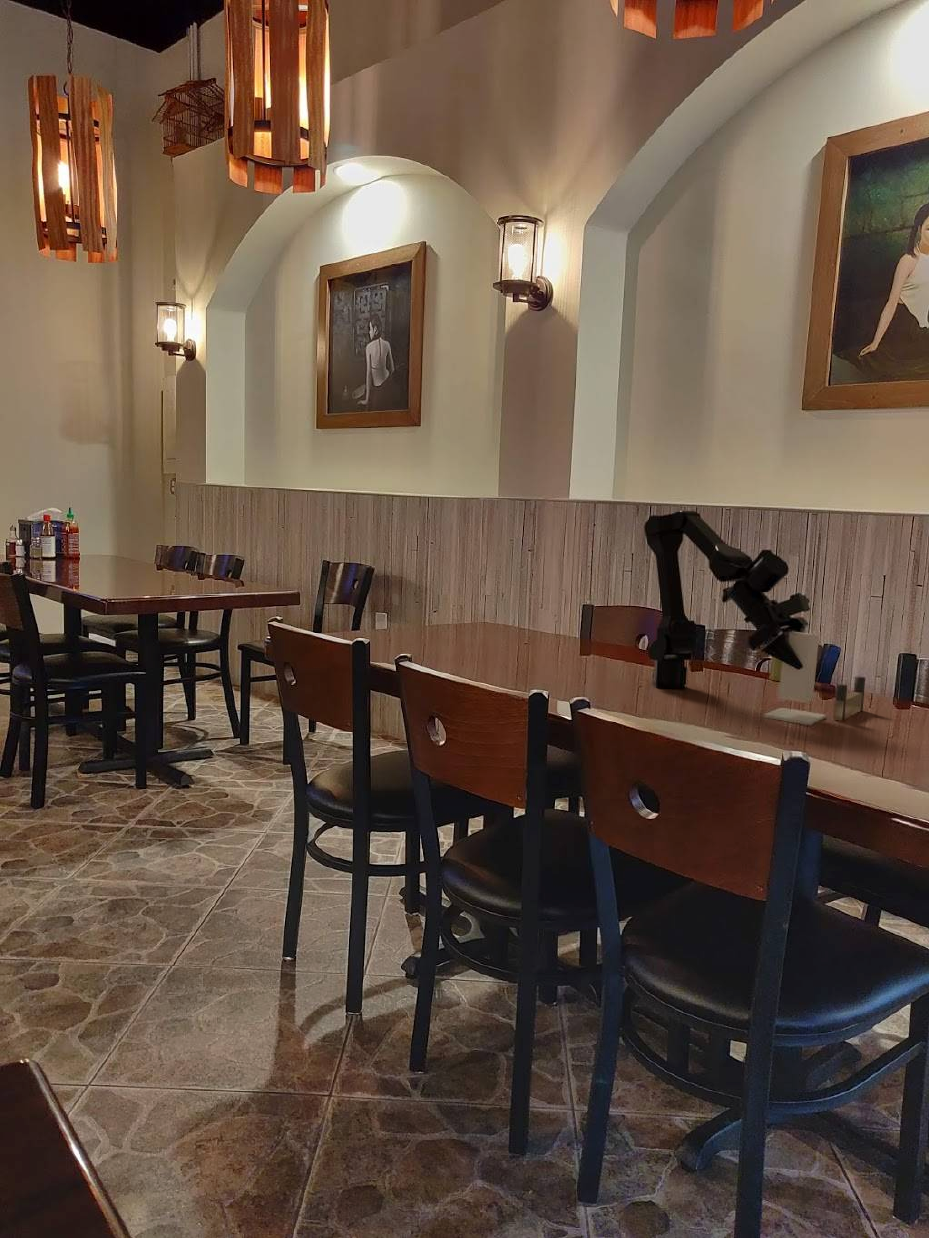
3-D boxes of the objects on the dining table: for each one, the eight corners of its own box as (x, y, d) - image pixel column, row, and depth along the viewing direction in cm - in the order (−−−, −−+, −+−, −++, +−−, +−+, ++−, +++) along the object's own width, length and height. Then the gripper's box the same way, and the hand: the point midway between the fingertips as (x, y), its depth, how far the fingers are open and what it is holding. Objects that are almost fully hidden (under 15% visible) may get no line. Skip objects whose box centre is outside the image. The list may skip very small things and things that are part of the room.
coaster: (764, 717, 185) (764, 714, 184) (781, 710, 192) (781, 707, 191) (810, 725, 179) (810, 722, 179) (825, 717, 186) (825, 714, 186)
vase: (796, 679, 228) (800, 621, 226) (793, 683, 223) (798, 623, 221) (770, 676, 231) (774, 619, 229) (767, 680, 225) (771, 621, 223)
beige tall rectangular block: (778, 698, 184) (784, 633, 183) (787, 695, 188) (793, 631, 187) (803, 702, 181) (810, 636, 180) (812, 699, 185) (819, 634, 184)
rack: (832, 719, 184) (835, 684, 183) (853, 709, 195) (856, 676, 194) (842, 721, 183) (845, 686, 182) (863, 710, 194) (866, 677, 193)
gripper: (767, 582, 177) (821, 646, 172) (802, 577, 192) (853, 637, 186) (725, 618, 183) (776, 682, 178) (761, 611, 197) (810, 670, 192)
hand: (805, 666), depth 183 cm, fingers closed on beige tall rectangular block, 5 cm apart
